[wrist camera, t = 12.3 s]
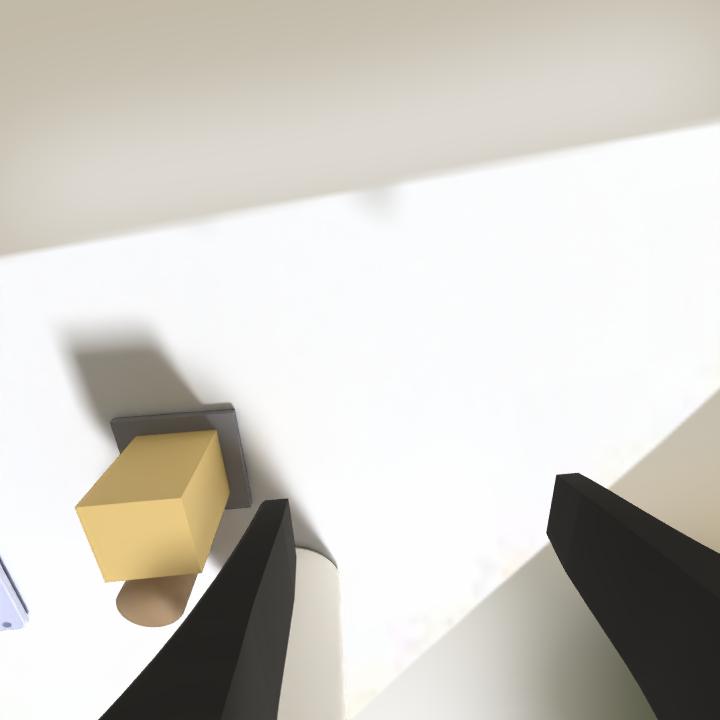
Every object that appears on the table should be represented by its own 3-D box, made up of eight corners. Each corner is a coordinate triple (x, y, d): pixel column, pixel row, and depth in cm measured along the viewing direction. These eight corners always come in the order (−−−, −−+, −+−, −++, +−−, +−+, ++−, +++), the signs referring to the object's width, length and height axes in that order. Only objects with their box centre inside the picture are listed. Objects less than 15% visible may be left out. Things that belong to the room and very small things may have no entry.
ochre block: (155, 499, 21) (105, 582, 16) (136, 436, 19) (74, 507, 15) (230, 492, 21) (201, 572, 16) (216, 429, 19) (181, 497, 15)
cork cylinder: (159, 562, 23) (126, 630, 19) (145, 520, 22) (107, 584, 18) (213, 557, 23) (191, 623, 19) (203, 515, 22) (177, 578, 18)
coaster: (144, 511, 21) (140, 516, 21) (114, 418, 19) (109, 422, 19) (251, 502, 22) (250, 507, 21) (234, 409, 20) (232, 413, 19)
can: (226, 552, 23) (129, 873, 12) (332, 534, 23) (334, 835, 12) (254, 624, 25) (194, 947, 14) (349, 606, 25) (365, 914, 14)
